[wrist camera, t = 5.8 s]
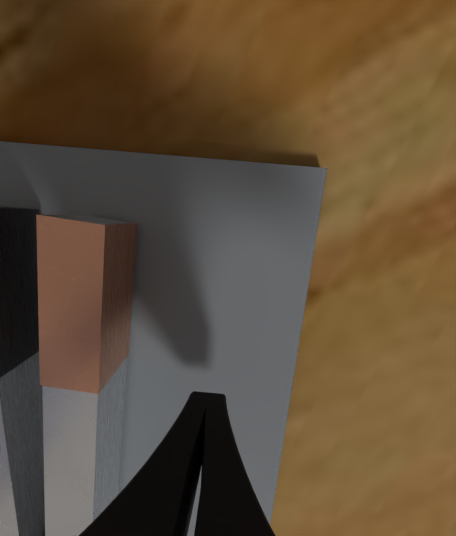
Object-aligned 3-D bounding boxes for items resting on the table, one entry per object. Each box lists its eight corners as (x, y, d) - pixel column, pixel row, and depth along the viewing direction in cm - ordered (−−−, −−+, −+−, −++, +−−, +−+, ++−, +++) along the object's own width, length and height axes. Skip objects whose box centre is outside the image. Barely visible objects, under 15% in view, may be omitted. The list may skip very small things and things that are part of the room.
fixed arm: (64, 508, 13) (24, 576, 11) (26, 505, 13) (-22, 571, 11) (38, 209, 10) (-28, 206, 7) (-13, 205, 10) (-96, 201, 7)
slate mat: (258, 576, 15) (259, 591, 14) (21, 553, 15) (13, 567, 14) (321, 171, 10) (326, 168, 9) (-36, 141, 10) (-53, 136, 9)
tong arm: (113, 571, 14) (81, 667, 11) (42, 560, 14) (-11, 654, 11) (137, 223, 10) (94, 225, 7) (33, 206, 10) (-57, 202, 7)
